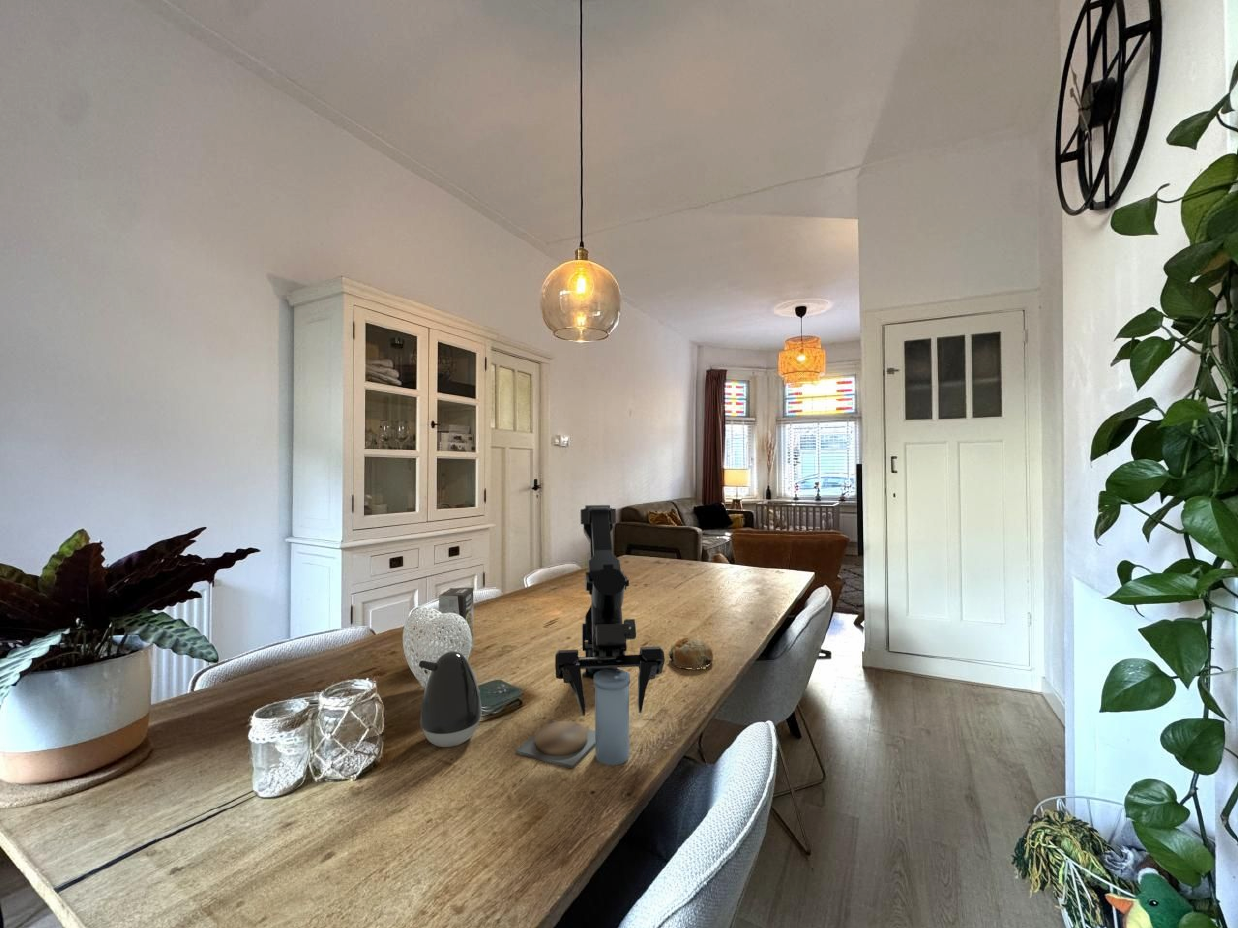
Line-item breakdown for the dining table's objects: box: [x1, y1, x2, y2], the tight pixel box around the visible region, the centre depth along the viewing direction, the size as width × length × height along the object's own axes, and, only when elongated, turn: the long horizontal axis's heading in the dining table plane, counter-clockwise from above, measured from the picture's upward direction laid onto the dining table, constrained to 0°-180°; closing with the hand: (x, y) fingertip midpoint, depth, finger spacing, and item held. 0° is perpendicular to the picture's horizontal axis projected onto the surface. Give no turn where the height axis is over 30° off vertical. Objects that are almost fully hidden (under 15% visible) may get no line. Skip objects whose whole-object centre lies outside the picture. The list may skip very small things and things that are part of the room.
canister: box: [593, 668, 631, 766], centre depth 84 cm, size 6×6×13 cm
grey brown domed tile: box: [515, 720, 595, 770], centre depth 87 cm, size 11×11×2 cm
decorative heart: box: [402, 606, 472, 689], centre depth 109 cm, size 18×11×17 cm, turn 56°
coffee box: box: [438, 587, 475, 651], centre depth 132 cm, size 9×6×16 cm
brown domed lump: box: [668, 636, 714, 669], centre depth 124 cm, size 10×10×8 cm
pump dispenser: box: [419, 651, 483, 748], centre depth 89 cm, size 10×10×15 cm
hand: (612, 713), depth 83 cm, fingers open, 9 cm apart
